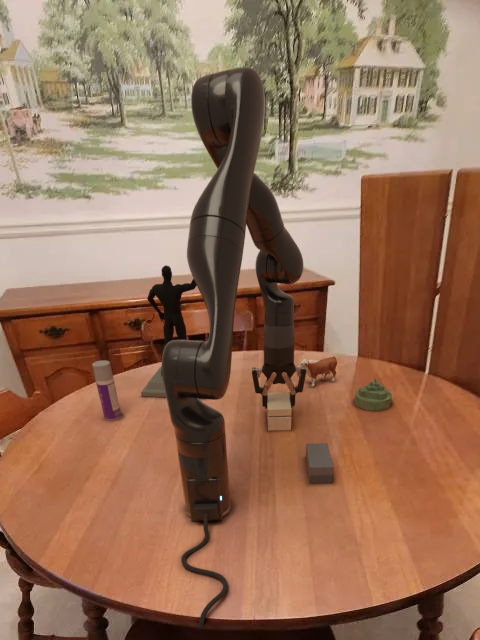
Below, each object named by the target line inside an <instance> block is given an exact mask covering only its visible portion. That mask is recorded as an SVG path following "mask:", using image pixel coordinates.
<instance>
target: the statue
mask: <svg viewBox="0 0 480 640" xmlns="http://www.w3.org/2000/svg"><path fill="white" fill-rule="evenodd" d="M160 271H161V277H162V278H163V281H162V283H155V284H153V286H151V288H150V289H149V292H148V295H147V297H146V298H147V299H146V300H147V301H148V303H149V304H150V305H151V307H152V308H153V309H154V310H155V311H156V312H157V315H158V316H159V320H160V323H162V324H163V327H162V331H163V332H162V333H163V338H164V345H163V348H162V350H161V354H160V355H161V360H162V355H163V351H164V348H165V346H166V345H167V343H168V342H170V341H172V340H174V339H173V338H174V334H175V335H176V337H177V340H187V326H186V323H185V320H184V319H185V318H184V316H183V313H182V309H181V306H180V302H181V299H182V295H183V293H187V292H190V291H193V290H195V289H196V288H197V285H196V283H195V280H194V278H193V277H192V280H191V282H186V283H182V284H180V283H176V284H175V285H173V282H172V277H173V272H172V268H171V266H170V265H167V264H165V265H164V266H162V268H161V270H160ZM155 297H156V298H157V299H158V301H159V302H160V304H161V305H162V307H163V311H161V309H160V308H159V307H158V305H157V303H156V300H155ZM140 394H141V397H145V398H146V397H147V398H166V393H165V388H164V383H163V377H162V365H161V366H160V367H159V368H158V370H157V371H155V373H154V374H153V375H152V377H150V379H149V380H148V382H147V384H146V385H145V387H143V389H142V390H141V391H140Z"/></svg>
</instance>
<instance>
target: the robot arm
mask: <svg viewBox="0 0 480 640" xmlns="http://www.w3.org/2000/svg"><path fill="white" fill-rule="evenodd" d="M190 103H191V113H192V114H191V115H192V118H193V123H194V125H195V128H196V131H197V133H198V136H199V138H200V140H201V142H202V144H203V146H204V148H205V149H206V151H207V153H208V156H210V158H211V159H212V162H213V163H214V166H215V167H216V169H217V170H215V173H214V174H213V175H212V177H211V179H210V180H209V182H208V183H207V185H206V186H205V188H204V189H203V190H202V193H201V194H200V195H199V198H198V199H197V201H196V203H195V204H194V207H193V209H192V212H191V217H190V221H189V228H188V237H187V246H186V261H187V265H188V269H189V271H190V274H191V276H192V279H193V278H194V280H195V283H196V285H197V286H196V288H197V289H198V291H199V293H200V295H201V298H202V300H203V302H204V304H205V308H206V311H207V315H208V320H209V321H208V323H209V332H208V333H209V334H208V339H207V340H191V339H186V340H179V339H172V341H170V342H168V343H167V345H166V346H165V348H164V347H163V348H164V351H163V355H162V359H161V366H162V377H163V383H164V388H165V393H166V397H165V398H166V403H167V407H168V412H169V417H170V422H171V425H172V427H173V430H174V436H175V443H176V450H177V451H176V452H177V457H178V465H179V471H180V478H181V479H180V480H181V487H182V491H183V498H184V510H185V513H186V515H187V516H188V517H190V521H191V522H203V533H204V537H203V540H202V541H201V542H200V543H198V544H197V545H195V546H194V547H192V548H190V549H188V550H187V551H185V552H184V553H183V554H182V556H181V565H182V566H183V567H184V568H185V569H186V570H187V571H190V572H193V573H196V574H201V575H205V576H209V577H213V578H215V579H217V580H219V581H220V582H221V584H222V589H221V591H220V592H219V593H218V594H217V595H216V596H215V597H213V598H212V599H211V600H210V601H209V602H208V603H207V604H206V605H205V607H204V608H203V610H202V611H201V614H200V617H199V620H198V628H199V629H203V628H204V627H205V621H206V618H207V615H208V613H209V612H210V611H211V609H212V607H214V606H215V605H216V604H217V603H218V602H219V601H220V600H221V599H222V598H223V597H225V595H227V592H228V590H229V584H228V580H227V579H226V577H224V576H223V575H222V574H220V573H218V572H215V571H213V570H210V569H209V570H208V569H203V568H199V567H196V566H192V565H190V564H188V562H187V558H188V557H189V556H190V555H192V554H194V553H196V552H197V551H199V550H201V549H202V548H203V547H204V546H205V545H206V544H207V543H208V541H209V539H210V531H209V522H219V521H220V522H221V521H223V519H224V517H226V516H227V515H228V514H229V513H230V512H231V510H232V500H231V492H230V479H229V464H228V452H227V451H228V449H227V437H226V435H227V434H226V422H225V418H224V415H223V413H221V412H220V411H219V410H218V409H216V408H214V407H212V406H210V405H208V404H206V403H205V402H204V401H202V400H210V401H212V400H214V401H216V400H221V399H223V398H224V397H225V396H226V393H227V391H228V388H229V384H230V379H231V371H232V360H233V359H232V358H233V342H234V340H233V339H234V323H235V313H236V312H235V311H236V302H237V295H238V287H239V281H240V275H241V269H242V261H243V256H244V255H243V254H244V248H245V241H246V231H247V230H248V232H249V236H250V237H251V240H252V243H253V244H254V246H255V248H256V249H257V250H259V251H258V253H257V255H256V259H255V265H254V266H255V268H254V269H255V274H256V278H257V282H258V283H257V284H258V286H259V290H260V294H261V298H262V303H263V311H264V312H263V332H262V335H263V337H262V340H263V365H262V366H261V367H259V368H256V367H252V368H251V377H252V383H253V387H254V393H255V394H257V395H258V394H259V395H261V404H262V407H263V408H264V410H267V403H268V395H267V393H269V390H270V389H271V387H272V386H273V385H278V384H279V385H286V386H287V388H288V390H289V396H290V403H291V409H293V407H295V406H296V396H297V394H299V393H303V391H304V386H305V381H306V375H307V374H306V368H305V367H304V366H302V367H298V366H296V365H295V340H296V336H295V335H296V334H295V300H294V297H293V296H292V295H290V294H288V293H286V292H284V291H282V290H281V289H280V287H279V284H280V285H281V284H282V285H294V284H296V283H297V282H298V281H300V278H301V277H302V275H303V273H304V258H303V255H302V252H301V250H300V247H299V246H298V244H297V243H296V241H295V240H294V237H292V235H291V234H290V232H289V231H288V229H287V228H286V226H285V223H284V220H283V218H282V214H281V210H280V207H279V204H278V202H277V199H276V197H275V194H273V192H272V190H271V189H270V187H269V186H268V185H267V184H266V183H265V182H264V181H263V180H262V179H261V178H260V177H259V176H258V174H256V173H255V170H256V165H257V160H258V155H259V151H260V148H261V147H260V146H261V141H262V136H263V131H264V127H265V126H264V125H265V115H266V97H265V88H264V84H263V80H262V78H261V76H260V74H259V73H258V72H257V71H256V70H255V69H254V68H253V67H249V66H242V67H233V68H231V69H226V70H222V71H219V72H213V73H209V74H207V75H203V76H200V77H198V79H196V80H195V82H194V83H193V86H192V90H191V97H190ZM295 373H296V375H297V377H298V383H297V385H296V386H295V385H294V383H293V380H292V377H293V375H294V374H295ZM261 374H263V375H264V377H265V378H266V379H265V382H264V384H263V387H262V386H260V381H259V379H260V377H261Z"/></svg>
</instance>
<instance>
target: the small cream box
mask: <svg viewBox="0 0 480 640" xmlns="http://www.w3.org/2000/svg"><path fill="white" fill-rule="evenodd" d="M266 413H267V414H266V415H267V431H270V432H271V431H292V415H291V416H268V411H267V410H266Z"/></svg>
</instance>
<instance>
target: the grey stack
mask: <svg viewBox="0 0 480 640" xmlns="http://www.w3.org/2000/svg"><path fill="white" fill-rule="evenodd" d="M304 456H305V457H304V459H305V460H304V461H305V465H306V471H307V472H306V473H307V477H308V484H310V485H311V484H312V485H313V484H332V483H333V478H334V477H333V476H334V464H333V460H332V456H331V451H330V448H329V444H328V443H327V442H319V443H317V442H316V443H315V442H314V443H306V444H305V455H304Z"/></svg>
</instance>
